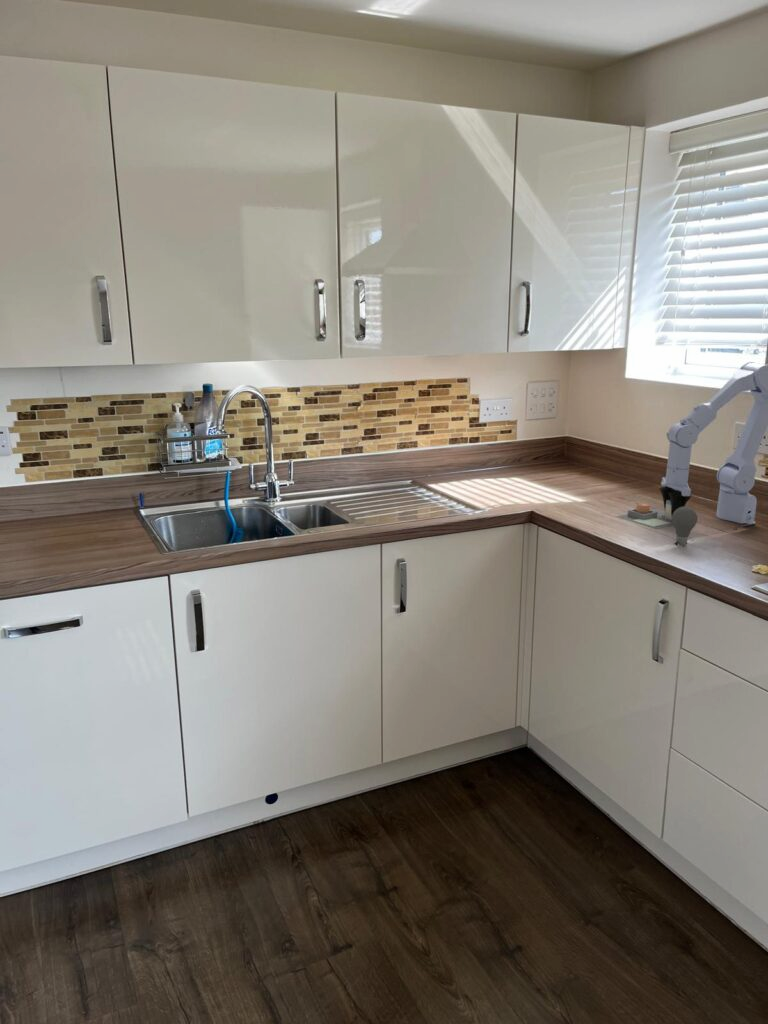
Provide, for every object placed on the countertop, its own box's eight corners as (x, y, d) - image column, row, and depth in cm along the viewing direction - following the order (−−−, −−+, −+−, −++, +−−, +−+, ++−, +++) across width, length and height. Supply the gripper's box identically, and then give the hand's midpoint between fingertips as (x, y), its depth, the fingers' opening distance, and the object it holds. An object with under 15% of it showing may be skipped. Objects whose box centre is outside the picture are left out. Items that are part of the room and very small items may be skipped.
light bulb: (688, 541, 196) (692, 503, 194) (698, 548, 190) (703, 510, 188) (665, 541, 196) (669, 503, 193) (674, 548, 190) (679, 510, 188)
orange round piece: (651, 515, 213) (653, 505, 213) (643, 517, 212) (644, 507, 211) (641, 512, 216) (642, 502, 216) (633, 514, 214) (634, 504, 214)
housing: (696, 524, 212) (697, 514, 211) (656, 533, 203) (657, 523, 202) (654, 512, 223) (655, 503, 222) (614, 520, 214) (615, 511, 213)
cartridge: (682, 522, 213) (684, 501, 212) (673, 524, 211) (675, 503, 210) (670, 519, 216) (672, 498, 215) (661, 521, 214) (663, 500, 213)
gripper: (653, 462, 216) (648, 508, 220) (674, 473, 202) (669, 522, 206) (677, 462, 217) (672, 508, 220) (700, 473, 203) (694, 522, 206)
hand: (672, 514), depth 213 cm, fingers closed on cartridge, 4 cm apart
